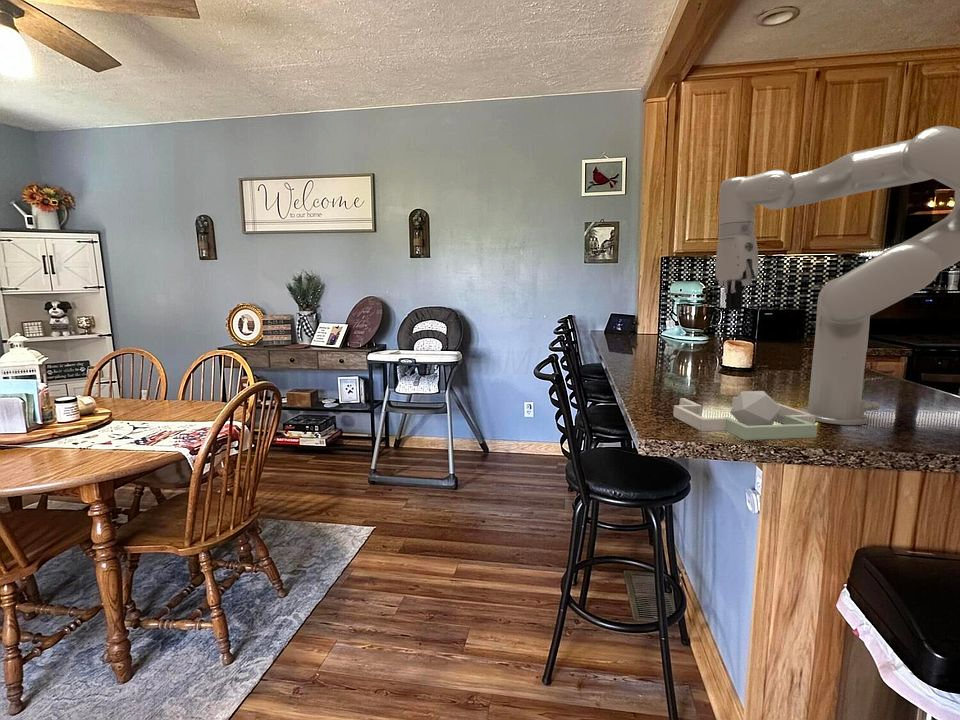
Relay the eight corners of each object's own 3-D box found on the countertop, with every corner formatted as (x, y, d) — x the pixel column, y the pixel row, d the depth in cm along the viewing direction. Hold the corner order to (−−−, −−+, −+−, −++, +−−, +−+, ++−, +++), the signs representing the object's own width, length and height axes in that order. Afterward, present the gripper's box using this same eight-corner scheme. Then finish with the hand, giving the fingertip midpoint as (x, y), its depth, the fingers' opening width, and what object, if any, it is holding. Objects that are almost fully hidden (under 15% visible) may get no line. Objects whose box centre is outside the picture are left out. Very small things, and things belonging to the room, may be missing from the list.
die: (777, 439, 99) (795, 398, 101) (739, 417, 99) (757, 377, 102) (753, 441, 107) (769, 403, 109) (717, 421, 107) (734, 383, 110)
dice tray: (756, 405, 124) (757, 396, 123) (840, 436, 98) (841, 424, 98) (659, 408, 121) (659, 398, 121) (719, 441, 96) (720, 428, 96)
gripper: (773, 227, 111) (769, 309, 113) (730, 235, 125) (728, 308, 128) (742, 228, 110) (739, 311, 112) (702, 236, 124) (701, 309, 127)
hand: (733, 309), depth 120 cm, fingers closed
